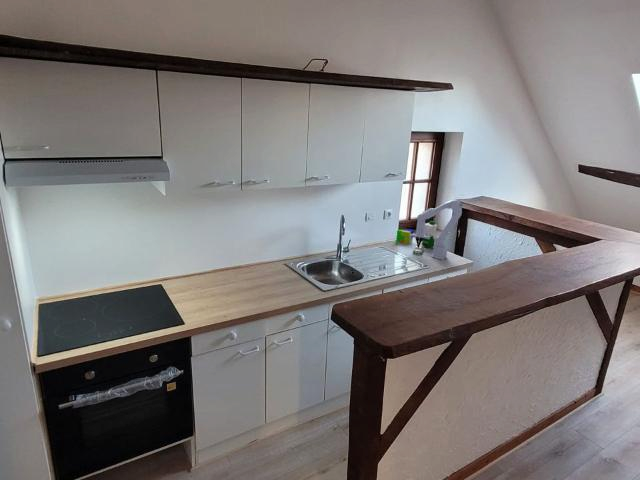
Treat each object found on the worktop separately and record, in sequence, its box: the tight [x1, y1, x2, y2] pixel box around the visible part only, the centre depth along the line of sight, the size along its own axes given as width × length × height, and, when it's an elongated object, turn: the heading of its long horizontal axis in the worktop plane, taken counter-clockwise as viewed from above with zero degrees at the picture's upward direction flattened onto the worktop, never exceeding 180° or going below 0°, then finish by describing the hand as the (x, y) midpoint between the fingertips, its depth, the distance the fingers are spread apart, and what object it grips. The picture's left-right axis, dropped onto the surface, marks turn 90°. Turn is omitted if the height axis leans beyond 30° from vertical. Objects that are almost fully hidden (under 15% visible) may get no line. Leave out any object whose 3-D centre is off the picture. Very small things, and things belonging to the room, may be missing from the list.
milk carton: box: [421, 220, 438, 249], centre depth 320 cm, size 9×9×20 cm
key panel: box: [412, 244, 425, 256], centre depth 310 cm, size 17×6×2 cm, turn 161°
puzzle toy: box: [395, 227, 415, 245], centre depth 330 cm, size 10×10×10 cm
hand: (418, 247), depth 304 cm, fingers closed
